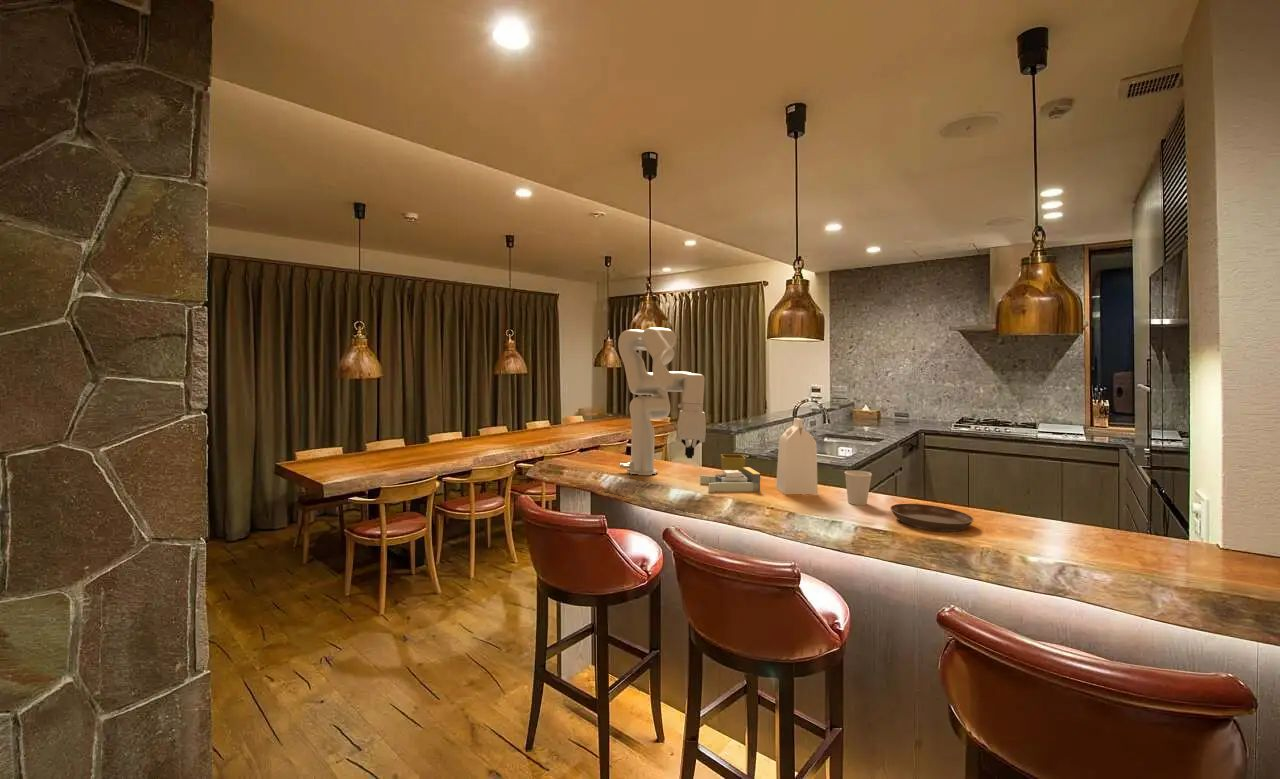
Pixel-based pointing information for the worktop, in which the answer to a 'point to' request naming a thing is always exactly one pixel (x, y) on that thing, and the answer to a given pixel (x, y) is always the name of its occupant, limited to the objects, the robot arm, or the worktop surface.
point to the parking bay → (750, 485)
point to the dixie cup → (857, 486)
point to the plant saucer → (931, 517)
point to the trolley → (730, 476)
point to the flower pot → (733, 462)
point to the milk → (797, 461)
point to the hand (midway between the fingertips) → (689, 457)
